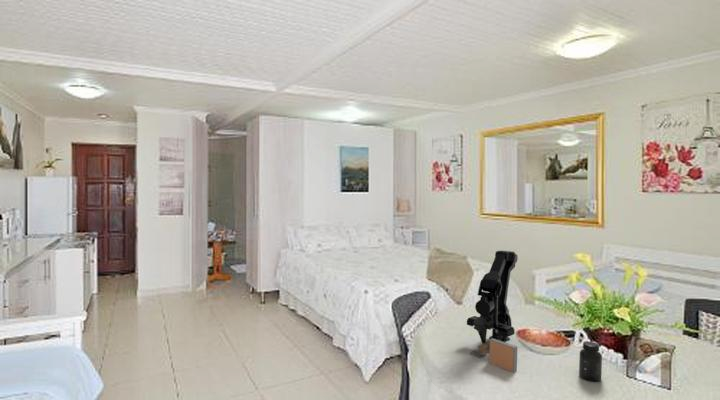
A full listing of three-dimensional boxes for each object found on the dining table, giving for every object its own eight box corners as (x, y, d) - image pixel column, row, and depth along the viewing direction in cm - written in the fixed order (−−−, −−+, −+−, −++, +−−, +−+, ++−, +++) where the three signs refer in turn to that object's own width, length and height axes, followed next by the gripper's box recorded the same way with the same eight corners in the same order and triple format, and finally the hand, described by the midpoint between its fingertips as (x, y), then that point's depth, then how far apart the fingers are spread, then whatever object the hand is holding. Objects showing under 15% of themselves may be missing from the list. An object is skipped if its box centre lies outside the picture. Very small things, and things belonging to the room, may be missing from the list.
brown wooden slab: (488, 346, 172) (488, 339, 172) (498, 350, 169) (499, 342, 169) (469, 354, 164) (469, 347, 164) (480, 358, 160) (480, 350, 160)
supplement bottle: (574, 375, 147) (575, 341, 146) (588, 372, 149) (589, 339, 149) (591, 383, 140) (592, 348, 140) (605, 380, 143) (607, 346, 143)
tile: (492, 361, 157) (492, 338, 157) (516, 370, 150) (517, 346, 149) (489, 363, 156) (489, 339, 156) (513, 372, 148) (514, 347, 148)
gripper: (459, 307, 170) (458, 344, 171) (500, 318, 156) (499, 359, 156) (475, 302, 177) (474, 338, 178) (515, 312, 163) (514, 352, 163)
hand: (489, 346), depth 169 cm, fingers open, 5 cm apart
